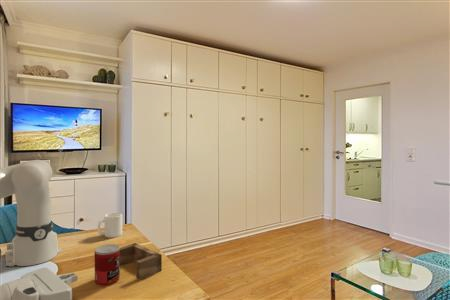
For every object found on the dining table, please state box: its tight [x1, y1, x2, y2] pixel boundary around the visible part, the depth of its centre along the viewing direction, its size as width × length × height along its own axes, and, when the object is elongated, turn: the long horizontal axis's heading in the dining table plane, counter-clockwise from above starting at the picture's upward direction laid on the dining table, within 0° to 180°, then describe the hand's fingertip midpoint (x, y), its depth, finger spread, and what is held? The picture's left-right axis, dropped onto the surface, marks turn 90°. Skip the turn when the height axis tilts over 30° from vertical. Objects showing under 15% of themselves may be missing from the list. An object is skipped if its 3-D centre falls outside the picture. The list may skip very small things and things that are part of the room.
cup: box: [97, 212, 123, 239], centre depth 135 cm, size 8×12×10 cm
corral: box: [119, 242, 163, 281], centre depth 102 cm, size 17×9×6 cm, turn 51°
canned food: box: [94, 243, 121, 287], centre depth 93 cm, size 8×8×11 cm
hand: (75, 276), depth 84 cm, fingers closed
